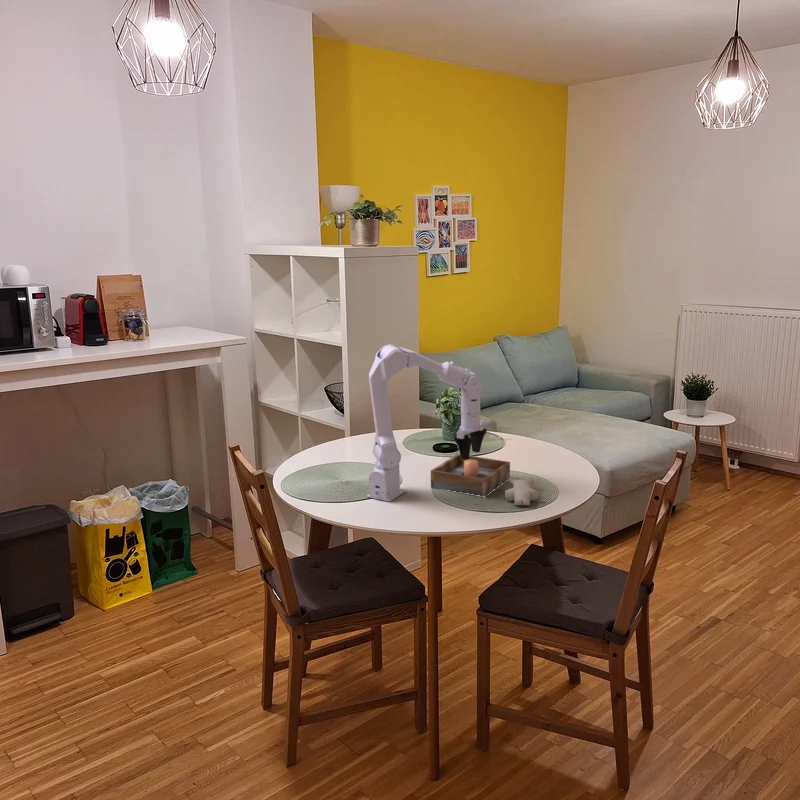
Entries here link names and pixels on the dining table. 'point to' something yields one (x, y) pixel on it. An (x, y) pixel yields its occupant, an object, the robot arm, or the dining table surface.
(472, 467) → the peg
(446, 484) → the tray
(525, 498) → the white soft plush figure
